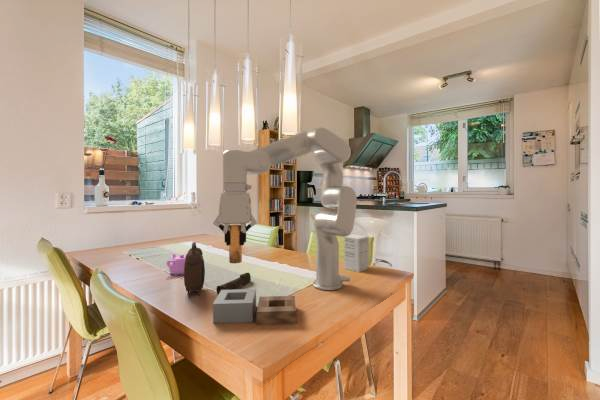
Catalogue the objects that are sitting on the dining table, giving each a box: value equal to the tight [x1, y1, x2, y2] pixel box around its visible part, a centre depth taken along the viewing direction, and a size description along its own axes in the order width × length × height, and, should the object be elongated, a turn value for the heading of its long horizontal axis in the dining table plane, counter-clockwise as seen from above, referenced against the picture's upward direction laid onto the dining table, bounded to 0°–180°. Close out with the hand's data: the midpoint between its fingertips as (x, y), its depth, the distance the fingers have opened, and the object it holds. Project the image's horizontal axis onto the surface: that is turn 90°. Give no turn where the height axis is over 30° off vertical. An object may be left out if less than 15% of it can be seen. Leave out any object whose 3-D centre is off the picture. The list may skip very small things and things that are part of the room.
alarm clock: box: [183, 241, 206, 296], centre depth 112 cm, size 15×7×20 cm, turn 17°
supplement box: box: [343, 234, 370, 273], centre depth 144 cm, size 10×9×17 cm
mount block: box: [256, 295, 297, 326], centre depth 91 cm, size 12×12×4 cm
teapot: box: [166, 252, 186, 276], centre depth 139 cm, size 12×14×9 cm
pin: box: [228, 224, 243, 264], centre depth 92 cm, size 4×4×12 cm
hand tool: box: [216, 272, 252, 296], centre depth 117 cm, size 19×4×5 cm, turn 149°
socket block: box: [212, 288, 257, 324], centre depth 92 cm, size 12×12×6 cm
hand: (235, 244), depth 92 cm, fingers closed on pin, 4 cm apart
